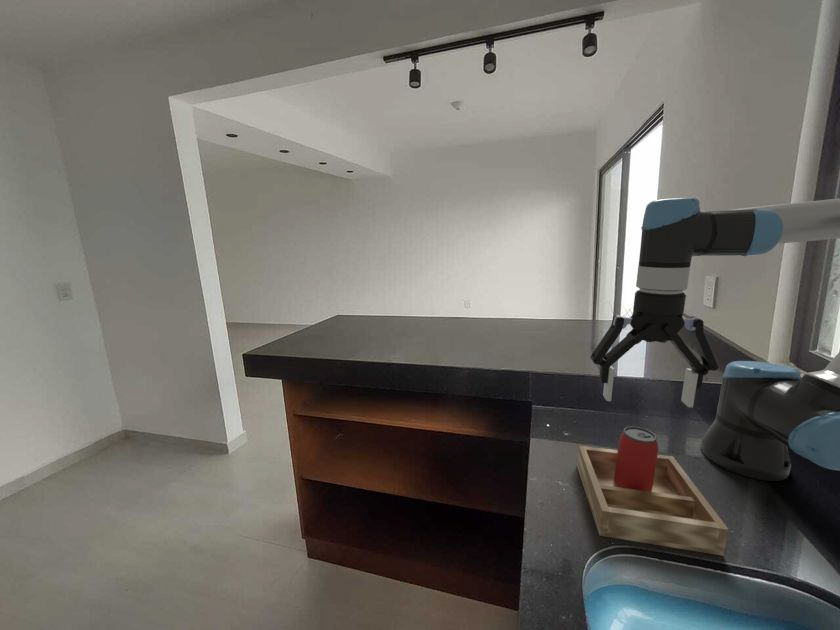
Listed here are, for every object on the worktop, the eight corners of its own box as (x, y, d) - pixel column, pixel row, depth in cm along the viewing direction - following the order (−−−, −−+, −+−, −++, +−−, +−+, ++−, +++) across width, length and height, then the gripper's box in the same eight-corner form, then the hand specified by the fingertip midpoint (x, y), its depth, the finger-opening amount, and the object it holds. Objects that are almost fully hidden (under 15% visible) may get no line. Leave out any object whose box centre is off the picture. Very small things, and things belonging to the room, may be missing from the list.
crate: (669, 477, 75) (672, 456, 74) (723, 555, 57) (728, 529, 56) (576, 465, 79) (578, 445, 78) (599, 535, 61) (602, 510, 60)
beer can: (657, 501, 68) (666, 445, 65) (620, 496, 69) (627, 441, 66) (643, 478, 74) (651, 426, 71) (609, 474, 75) (615, 423, 73)
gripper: (729, 288, 63) (710, 397, 68) (579, 286, 69) (572, 387, 73) (758, 295, 56) (735, 416, 61) (588, 292, 62) (579, 404, 66)
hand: (645, 401), depth 67 cm, fingers open, 13 cm apart
